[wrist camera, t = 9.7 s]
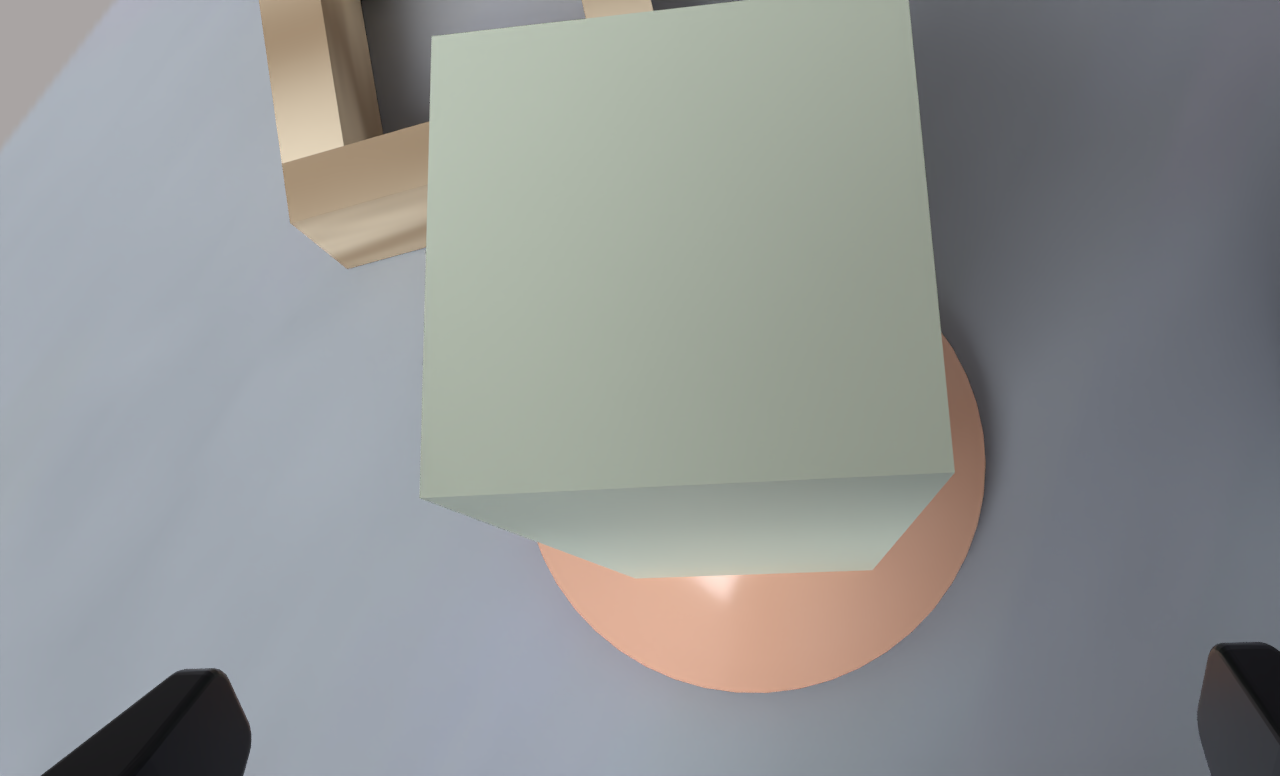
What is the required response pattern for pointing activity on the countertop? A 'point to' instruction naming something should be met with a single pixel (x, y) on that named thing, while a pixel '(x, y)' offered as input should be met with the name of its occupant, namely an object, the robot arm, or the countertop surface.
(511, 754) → the countertop surface
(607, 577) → the pad
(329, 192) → the square socket
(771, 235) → the square plug
